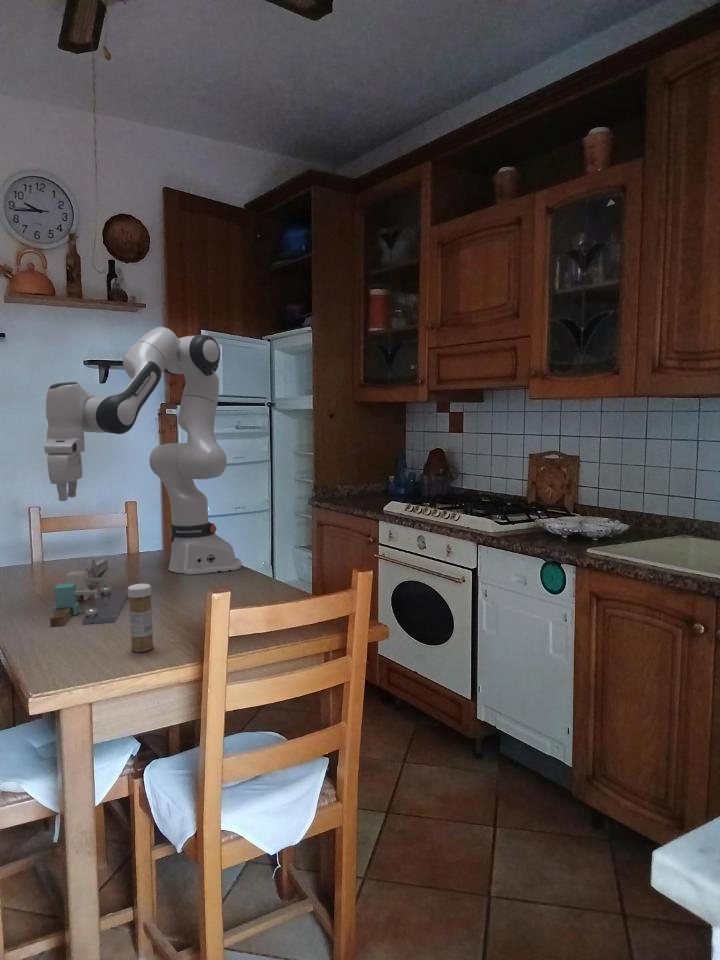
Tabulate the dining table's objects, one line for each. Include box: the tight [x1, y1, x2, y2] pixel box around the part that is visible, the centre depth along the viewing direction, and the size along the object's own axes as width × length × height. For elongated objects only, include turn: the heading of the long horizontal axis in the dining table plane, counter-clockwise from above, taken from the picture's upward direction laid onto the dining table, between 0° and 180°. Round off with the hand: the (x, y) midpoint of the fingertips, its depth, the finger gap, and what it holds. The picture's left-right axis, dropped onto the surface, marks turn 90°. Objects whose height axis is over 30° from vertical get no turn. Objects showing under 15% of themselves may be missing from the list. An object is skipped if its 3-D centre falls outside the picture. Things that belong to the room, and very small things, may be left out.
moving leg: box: [52, 582, 99, 616], centre depth 166 cm, size 10×4×7 cm, turn 101°
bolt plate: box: [82, 586, 129, 625], centre depth 170 cm, size 7×24×3 cm, turn 11°
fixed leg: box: [66, 570, 108, 601], centre depth 179 cm, size 10×4×7 cm, turn 101°
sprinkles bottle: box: [127, 583, 154, 653], centre depth 140 cm, size 5×5×13 cm
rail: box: [49, 595, 84, 627], centre depth 168 cm, size 3×24×2 cm, turn 11°
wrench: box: [84, 558, 109, 587], centre depth 201 cm, size 8×2×30 cm
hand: (67, 498), depth 176 cm, fingers open, 8 cm apart
